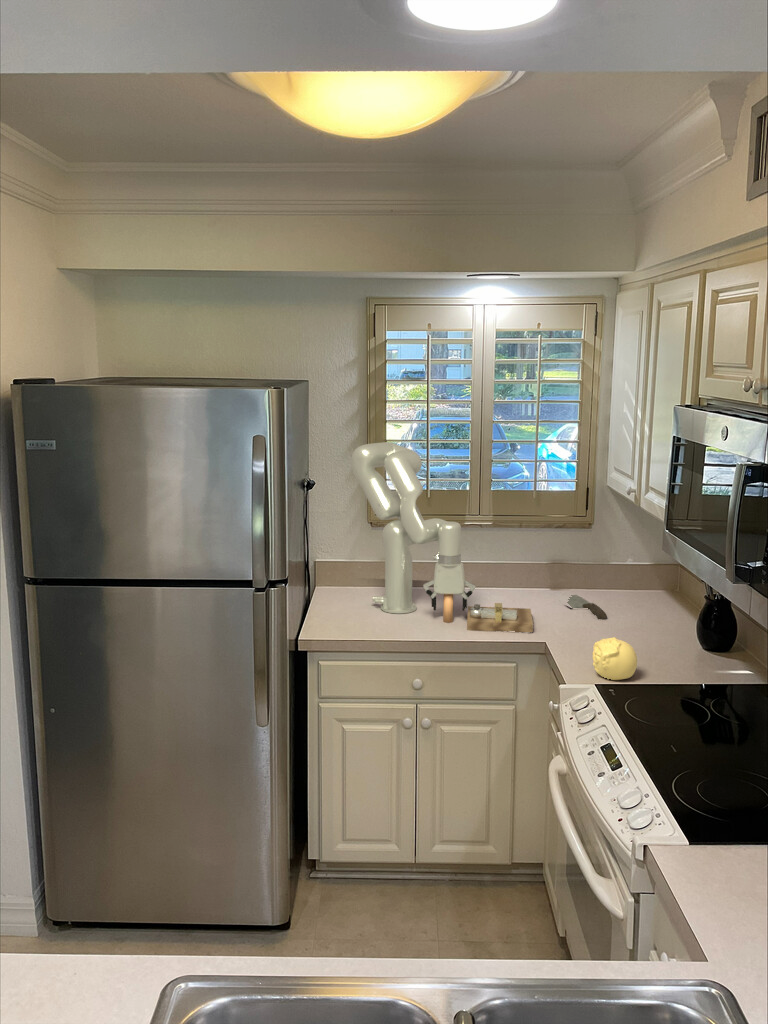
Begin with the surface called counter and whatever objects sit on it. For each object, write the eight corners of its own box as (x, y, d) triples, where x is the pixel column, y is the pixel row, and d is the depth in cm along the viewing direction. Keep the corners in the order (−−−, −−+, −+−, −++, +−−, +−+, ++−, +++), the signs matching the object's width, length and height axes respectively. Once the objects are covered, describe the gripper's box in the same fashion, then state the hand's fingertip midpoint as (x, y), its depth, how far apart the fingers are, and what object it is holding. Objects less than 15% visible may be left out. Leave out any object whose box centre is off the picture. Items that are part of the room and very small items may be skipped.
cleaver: (613, 620, 283) (613, 614, 282) (586, 621, 281) (586, 615, 280) (575, 597, 311) (575, 591, 311) (551, 598, 309) (551, 593, 309)
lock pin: (443, 622, 278) (443, 593, 276) (443, 619, 281) (444, 591, 279) (452, 623, 278) (453, 594, 276) (453, 620, 281) (453, 591, 279)
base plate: (466, 630, 270) (467, 609, 269) (468, 614, 287) (468, 595, 286) (532, 633, 268) (533, 612, 266) (530, 617, 284) (530, 597, 283)
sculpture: (587, 668, 237) (588, 632, 235) (629, 668, 237) (631, 632, 235) (597, 684, 226) (598, 645, 224) (641, 684, 226) (643, 646, 224)
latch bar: (469, 617, 273) (469, 610, 273) (470, 613, 277) (470, 606, 277) (516, 620, 270) (516, 613, 269) (517, 616, 274) (517, 609, 274)
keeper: (494, 621, 269) (494, 608, 269) (494, 615, 276) (494, 602, 275) (502, 622, 269) (502, 608, 268) (501, 616, 275) (502, 603, 275)
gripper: (422, 561, 273) (422, 612, 276) (475, 562, 271) (475, 613, 274) (424, 556, 280) (424, 605, 283) (476, 557, 278) (475, 607, 281)
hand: (449, 609), depth 278 cm, fingers open, 9 cm apart
